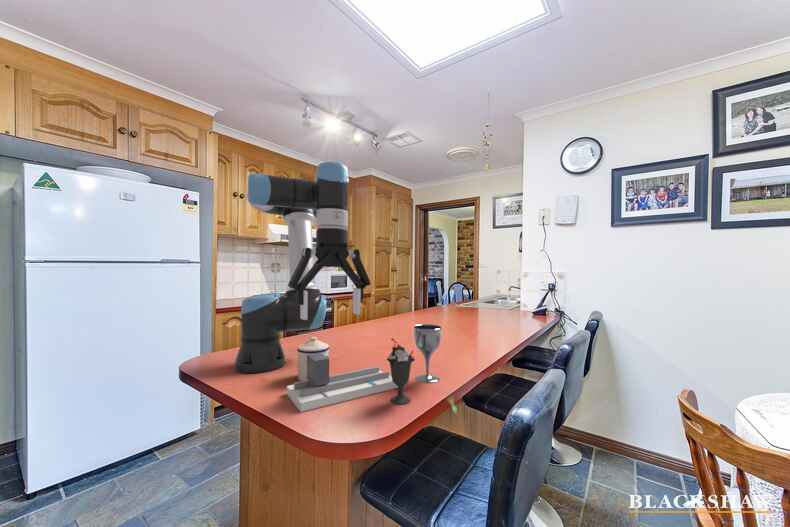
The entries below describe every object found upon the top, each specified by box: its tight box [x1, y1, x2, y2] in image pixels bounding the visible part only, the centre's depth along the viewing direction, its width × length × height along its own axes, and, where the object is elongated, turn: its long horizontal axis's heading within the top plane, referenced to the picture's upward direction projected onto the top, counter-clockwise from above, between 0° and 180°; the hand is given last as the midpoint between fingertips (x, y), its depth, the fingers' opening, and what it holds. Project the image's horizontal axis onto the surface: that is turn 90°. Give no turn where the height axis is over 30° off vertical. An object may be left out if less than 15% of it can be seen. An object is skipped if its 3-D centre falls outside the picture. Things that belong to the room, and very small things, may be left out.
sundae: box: [386, 338, 416, 406], centre depth 77 cm, size 7×7×15 cm
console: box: [286, 365, 398, 413], centre depth 83 cm, size 12×26×4 cm, turn 123°
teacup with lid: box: [297, 336, 331, 381], centre depth 94 cm, size 12×9×12 cm
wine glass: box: [413, 323, 442, 384], centre depth 92 cm, size 8×8×15 cm
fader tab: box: [307, 353, 330, 388], centre depth 79 cm, size 6×4×8 cm, turn 34°
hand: (331, 316), depth 77 cm, fingers open, 13 cm apart
